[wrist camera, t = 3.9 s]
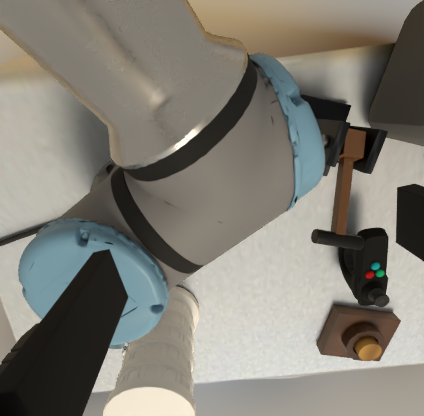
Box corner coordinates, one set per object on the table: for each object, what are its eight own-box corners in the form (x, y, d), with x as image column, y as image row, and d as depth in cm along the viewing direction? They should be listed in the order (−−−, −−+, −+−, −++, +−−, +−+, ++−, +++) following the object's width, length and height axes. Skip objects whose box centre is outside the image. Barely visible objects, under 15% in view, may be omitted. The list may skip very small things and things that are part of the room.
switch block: (316, 345, 53) (325, 363, 49) (333, 304, 50) (344, 320, 46) (372, 351, 54) (385, 369, 51) (393, 312, 51) (408, 328, 47)
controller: (333, 277, 48) (365, 319, 38) (334, 213, 43) (371, 242, 34) (357, 274, 48) (395, 315, 38) (361, 210, 43) (405, 238, 34)
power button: (350, 351, 49) (355, 359, 48) (358, 334, 48) (364, 342, 46) (370, 353, 50) (376, 362, 48) (379, 337, 48) (385, 345, 47)
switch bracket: (323, 174, 41) (374, 201, 29) (273, 164, 40) (304, 189, 28) (347, 105, 38) (415, 104, 26) (292, 93, 37) (336, 86, 25)
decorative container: (200, 284, 47) (199, 383, 30) (198, 336, 51) (198, 449, 34) (132, 284, 46) (93, 385, 30) (136, 336, 50) (104, 451, 34)
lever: (351, 249, 29) (367, 251, 27) (308, 242, 29) (319, 243, 26) (363, 141, 30) (378, 134, 28) (321, 133, 30) (333, 124, 27)
